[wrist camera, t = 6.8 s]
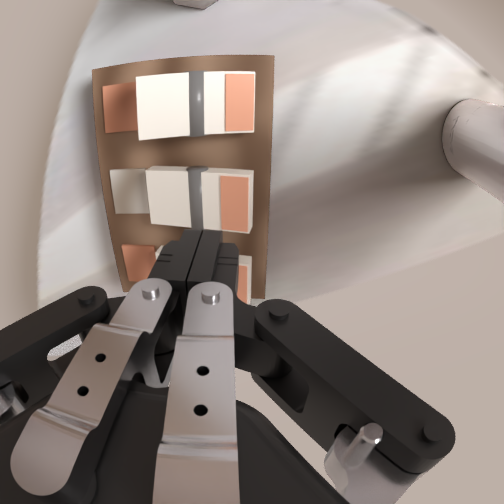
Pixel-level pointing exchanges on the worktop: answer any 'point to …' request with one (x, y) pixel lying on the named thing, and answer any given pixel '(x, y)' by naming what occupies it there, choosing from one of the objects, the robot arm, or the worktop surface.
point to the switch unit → (177, 161)
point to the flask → (195, 3)
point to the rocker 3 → (243, 278)
